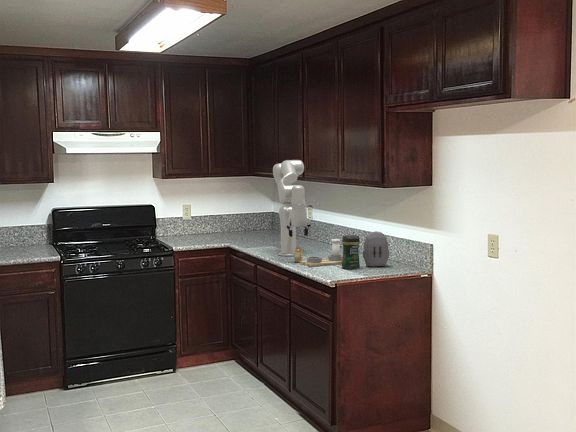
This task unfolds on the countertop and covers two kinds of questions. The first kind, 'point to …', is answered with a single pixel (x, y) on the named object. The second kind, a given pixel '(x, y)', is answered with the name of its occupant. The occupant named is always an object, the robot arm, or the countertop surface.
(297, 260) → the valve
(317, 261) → the socket
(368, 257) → the grey rounded bag
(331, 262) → the board
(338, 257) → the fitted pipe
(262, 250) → the countertop surface
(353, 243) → the coffee jar
